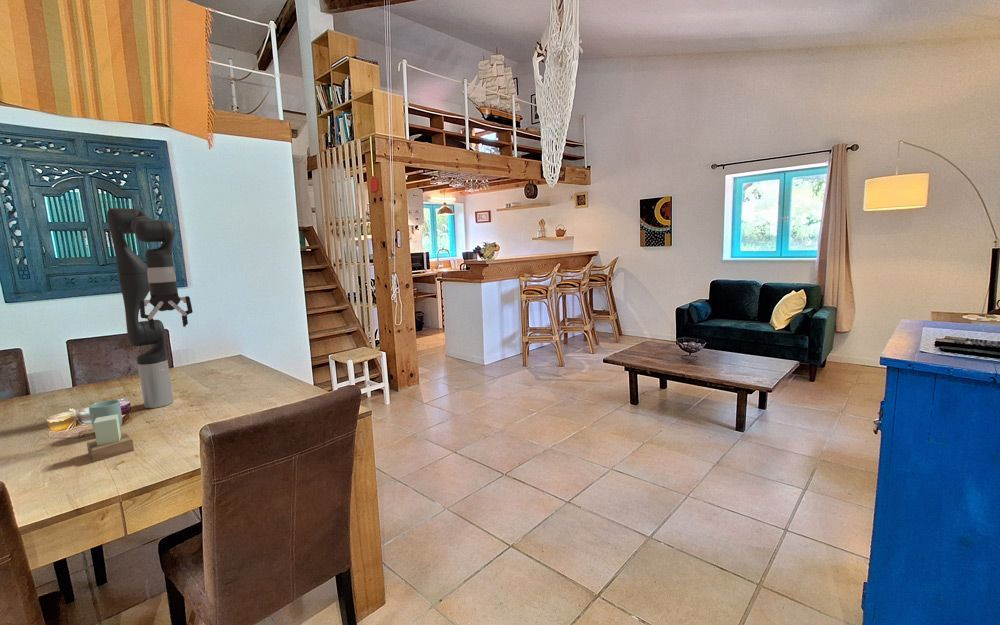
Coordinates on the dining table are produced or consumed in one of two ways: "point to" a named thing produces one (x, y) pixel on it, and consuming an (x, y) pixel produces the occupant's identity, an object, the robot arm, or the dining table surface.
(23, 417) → the dining table surface
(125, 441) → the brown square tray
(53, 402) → the dining table surface
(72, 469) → the dining table surface
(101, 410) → the cup
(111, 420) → the green block
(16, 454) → the dining table surface
